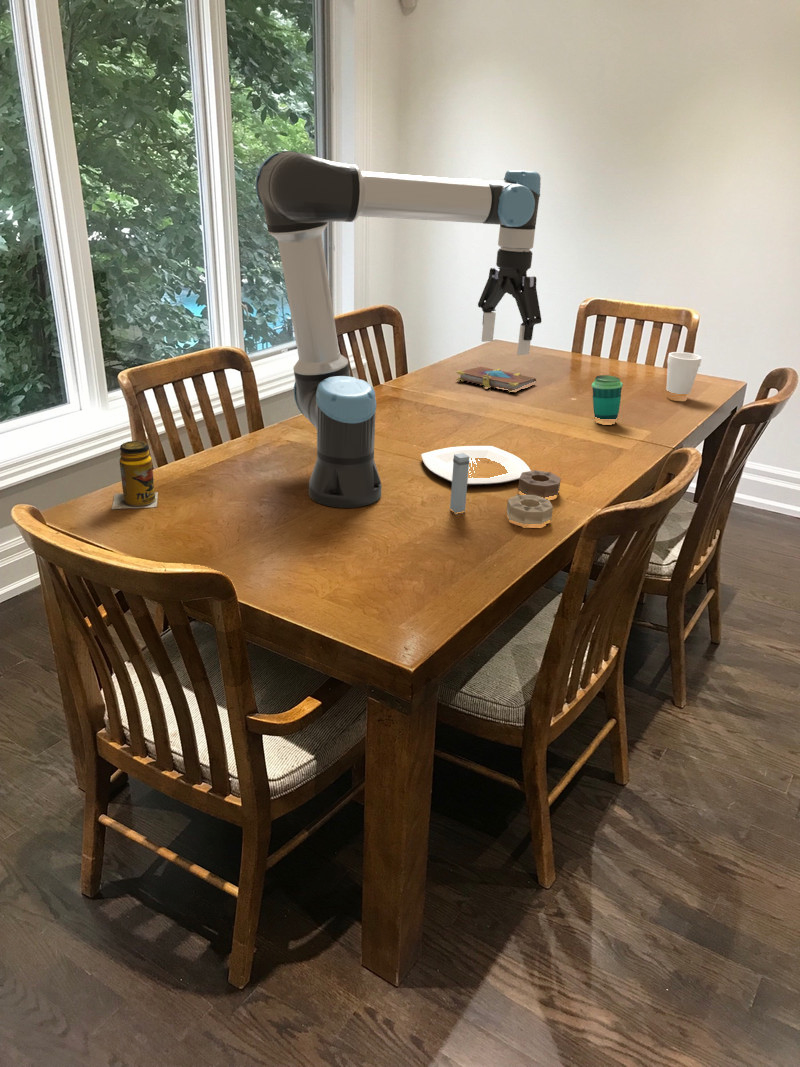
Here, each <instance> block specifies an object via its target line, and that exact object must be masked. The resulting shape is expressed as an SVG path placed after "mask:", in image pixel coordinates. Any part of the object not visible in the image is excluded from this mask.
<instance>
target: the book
mask: <svg viewBox="0 0 800 1067" xmlns="http://www.w3.org/2000/svg"><path fill="white" fill-rule="evenodd" d="M455 374H458V375H460V377H457V378H456V379H455V380H456V381H458V380H461V381H460V382H464V381H467V382H466V383H469V382H472V383H471V384H473V383H477V384H481V385H480V386H482V385H484V386H485V387H488V388H490V389H491V387H499V388H504V389H508V390H509V391H512V390H515V389H518V388H520V387H522V386H524V385H527V384H529V383H532V382H534V381H536V382H537V378H536V377H532V376H528V375H527V376H526V375H523V374H522V373H521V372H517V373H514V372H508V371H504V370H502V369H501V368H497V369H496V368H489V367H485V366H478V367H477V366H476V367H473V368H469V369H466V370H457V371H456V373H455ZM477 384H476V385H477ZM484 386H483V387H484ZM490 386H491V387H490Z"/></svg>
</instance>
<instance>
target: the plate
mask: <svg viewBox="0 0 800 1067" xmlns="http://www.w3.org/2000/svg"><path fill="white" fill-rule="evenodd" d="M460 453H464V454H466V455H468V456H469V463H471V467H472V461H473V463H474V462H475V463H474V464H476V465H477V463H476V460H475V458H487V459H490V460H491V461H495V462H497V463H500V464H501V465H502V466H504V467H505V469H506V470H507V472H508V473H506V474H502V475H498V476H494V477H490V478H473V477H472V478H468V481H467V486H482V485H483V484H484V485H495V484H504V483H510V482H513V481H517V480H518V481H519V478H520V476H521V474H522V472H528V471H532V470H531V468H530V467H529V465H527V463H526V462H525V461H524V460H522V459H521V458H520V457H518V456H516V455H515V454H513V453H511V452H508V451H506V450H503V449H502V448H501V449H500V448H499V447H495V446H493V445H463V446H461V445H460V446H459V445H458V446H451V447H449V446H448V447H445V448H439V449H434V450H431V451H427V452H424V453H421V454H420V456H421V459H422V461H423V463H424V466H425V467H426V468H427V469H428V470H429V471H430V472H431V473H433V474H434V475H436V476H438V477H439V478H441V479H444V480H446V481H448V482H451V483H452V475H453V459H454V454H460ZM471 458H472V460H471ZM478 461H480V460H479V459H478ZM476 467H477V466H476ZM469 469H470V467H469ZM469 469H468V471H469ZM473 470H474V467H473ZM470 472H471V471H469V473H470ZM474 473H475V471H474ZM471 474H472V473H471ZM471 474H469V475H471ZM470 477H471V476H470Z"/></svg>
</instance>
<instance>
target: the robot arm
mask: <svg viewBox="0 0 800 1067" xmlns="http://www.w3.org/2000/svg"><path fill="white" fill-rule="evenodd" d="M255 175H256V176H255V181H254V185H255V186H254V187H255V192H256V193H255V194H256V197H257V199H258V202H259V203H260V205H261V207H263V211H264V216H265V222H266V226H267V233H268V234H269V235H270V236H272V237H273V238H275V240H276V241H277V244H278V249H279V254H280V260H281V266H282V272H283V278H284V283H285V288H286V294H287V300H288V305H289V310H290V311H289V312H290V315H291V316H290V317H291V323H292V327H293V334H294V339H295V345H296V350H297V355H298V360H297V361H296V362H295V364H294V366H293V375H294V380H295V382H294V384H293V385H294V386H293V398H294V402H295V405H296V407H297V409H298V410H299V412H300V413H301V414H302V415H303V416H304V418H306V420H308V421H309V422H310V423H311V424H312V425H313V427H314V428H316V461H315V464H314V466H313V470H312V473H311V475H310V478H309V481H308V495H309V498H310V499H312V500H313V501H314V502H316V503H318V504H320V505H323V506H327V507H332V508H339V509H340V508H341V509H349V508H350V509H351V508H360V507H365V506H368V505H372V504H373V503H375V502H377V501H378V500H379V498H380V499H381V497H382V486H383V485H382V482H381V478H380V475H379V472H378V468H377V465H376V462H375V436H376V433H375V432H376V410H377V400H376V391H375V389H374V387H373V386H372V384H370V383H369V382H368V381H366V380H363V379H359V378H357V377H355V376H351V370H350V365H349V359H348V358H347V357H346V356H344V355H342V354H341V352H340V347H339V339H338V334H337V329H336V328H337V327H336V321H335V315H334V314H335V313H334V309H333V308H334V307H333V300H332V295H331V289H330V283H329V274H328V269H327V268H328V267H327V262H326V255H325V248H324V244H323V243H324V242H323V233H324V231H325V230H326V228H327V227H328V223H330V222H334V223H335V222H336V223H337V222H343V223H344V222H346V223H353V222H355V221H356V220H357V219H358V218H359V217H361V218H362V217H363V218H366V217H367V218H379V219H381V218H382V219H385V218H386V219H397V220H398V219H400V220H417V221H434V222H435V221H436V222H452V223H453V222H456V223H468V224H469V223H471V224H473V223H474V224H484V225H497V226H498V225H500V226H499V231H498V232H499V233H498V240H497V242H498V243H497V245H498V247H500V248H499V249H498V250H497V253H496V254H497V255H496V261H495V262H496V263H495V265H496V267H491V268H490V269H489V272H488V279H487V281H486V283H485V286H484V288H483V290H482V293H481V296H480V297H479V301H478V302H477V307H478V308H481V310H482V314H483V315H482V331H481V342H482V343H483V342H494V333H495V323H496V312H495V311H497V310H496V307H497V306H498V304H499V303H500V302H501V301H502V299H503V298H504V297H505V294H509V295H511V296H512V298H514V299H515V302H516V306H517V308H518V312H519V314H520V316H521V321H522V322H521V323H520V328H519V335H518V342H517V343H518V344H517V352H516V355H518V356H526V355H527V356H528V355H530V348H531V341H532V340H533V334H534V326H536V325H539V324H541V323H542V315H541V310H540V303H539V296H538V291H537V281H538V280H537V277H536V276H535V275H533V276H528V274H527V272H528V270H530V269H531V268H532V262H533V251H531V249H533V248H534V244H535V242H534V241H535V233H536V225H537V220H538V219H537V218H538V211H539V210H538V209H539V202H540V197H541V178H542V177H541V175H540V173H539V172H538V171H531V170H518V169H517V170H516V169H514V170H512V169H508V170H506V172H505V175H504V177H503V179H498V180H497V179H485V178H470V177H467V178H453V177H450V178H449V177H438V176H424V175H413V174H402V173H400V174H399V173H388V172H379V171H378V172H377V171H365V170H360V169H359V167H358V166H357V165H356V164H354V163H353V164H352V163H346V162H345V163H343V162H339V161H333V160H329V159H325V158H321V157H318V156H315V155H312V154H308V153H301V152H297V151H293V150H289V151H287V150H282V151H279V152H276V153H274V154H271V155H269V156H268V157H267V158H265V160H264V161H262V163H261V164H260V166H259V167H258V169H257V173H256V174H255Z"/></svg>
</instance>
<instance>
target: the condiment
mask: <svg viewBox="0 0 800 1067" xmlns="http://www.w3.org/2000/svg"><path fill="white" fill-rule="evenodd" d="M119 450H120V458H119V469H120V477H121V478H120V479H121V488H122V493H119V492H118V493H114V494H113V502H112V507H111V510H117V509H118V510H121V509H147V508H149V509H150V508H157V506H158V499H159V498H158V497H159V495H158V494H159V492H158V491H156V490H155V489H156V488H155V480H154V471H153V470H154V469H153V459H152V456H150V450H149V445H148V443H147V442H145V441H142V440H141V441H140V440H130V441H126V442H123V443H122V444H121V445H120V446H119Z"/></svg>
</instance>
